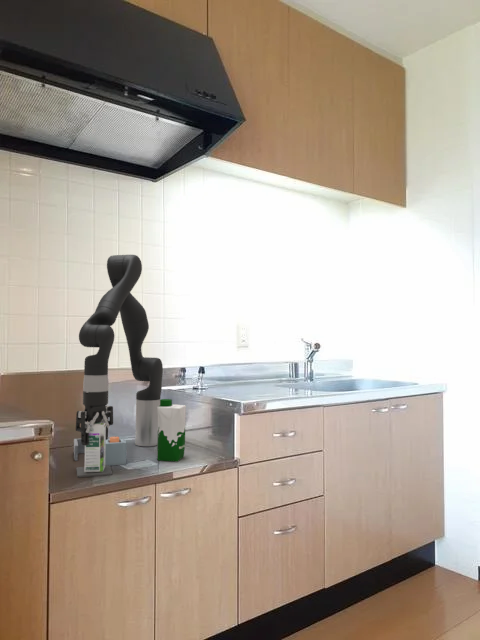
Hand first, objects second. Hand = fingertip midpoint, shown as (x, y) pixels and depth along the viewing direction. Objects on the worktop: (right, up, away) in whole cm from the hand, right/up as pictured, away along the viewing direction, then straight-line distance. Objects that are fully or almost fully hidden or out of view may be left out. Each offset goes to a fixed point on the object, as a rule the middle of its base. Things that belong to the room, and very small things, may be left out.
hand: (94, 442), depth 160 cm
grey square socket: (+3, -9, +11) cm, 15 cm away
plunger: (+3, -7, +11) cm, 14 cm away
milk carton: (+21, -10, +18) cm, 29 cm away
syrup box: (0, -9, 0) cm, 9 cm away
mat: (0, -9, 0) cm, 9 cm away
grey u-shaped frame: (-6, -9, +20) cm, 23 cm away
